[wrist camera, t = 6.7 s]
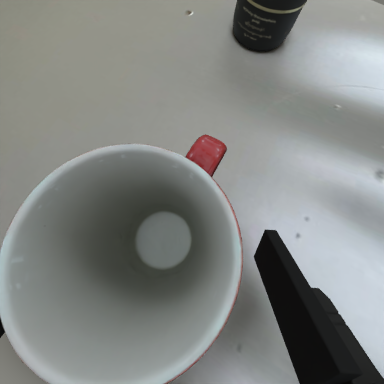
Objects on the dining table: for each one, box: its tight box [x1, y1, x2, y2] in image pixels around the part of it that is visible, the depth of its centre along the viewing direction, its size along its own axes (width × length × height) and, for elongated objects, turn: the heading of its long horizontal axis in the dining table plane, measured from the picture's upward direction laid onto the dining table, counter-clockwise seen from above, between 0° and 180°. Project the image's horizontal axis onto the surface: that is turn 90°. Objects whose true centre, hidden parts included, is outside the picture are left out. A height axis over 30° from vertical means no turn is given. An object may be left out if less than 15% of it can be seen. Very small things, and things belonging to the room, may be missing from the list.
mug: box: [0, 135, 243, 384], centre depth 13 cm, size 13×9×14 cm
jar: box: [233, 0, 307, 51], centre depth 25 cm, size 10×10×8 cm
